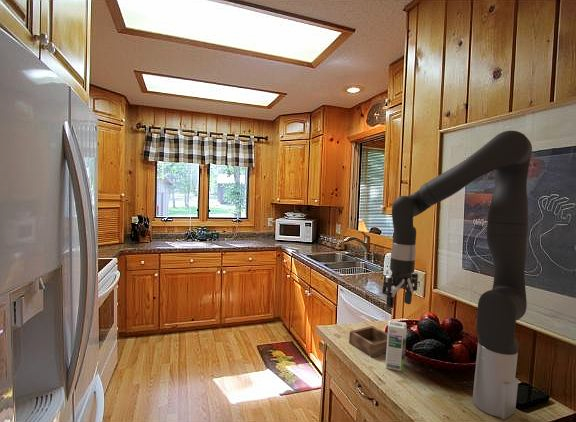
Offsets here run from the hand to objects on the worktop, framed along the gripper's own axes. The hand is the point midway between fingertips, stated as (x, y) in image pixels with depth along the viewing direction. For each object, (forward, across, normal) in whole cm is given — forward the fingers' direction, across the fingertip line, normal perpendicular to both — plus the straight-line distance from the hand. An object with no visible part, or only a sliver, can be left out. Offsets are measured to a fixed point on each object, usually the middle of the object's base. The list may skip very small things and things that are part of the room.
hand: (399, 305), depth 108 cm
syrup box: (+21, 0, 0) cm, 21 cm away
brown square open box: (+21, +3, +13) cm, 25 cm away
